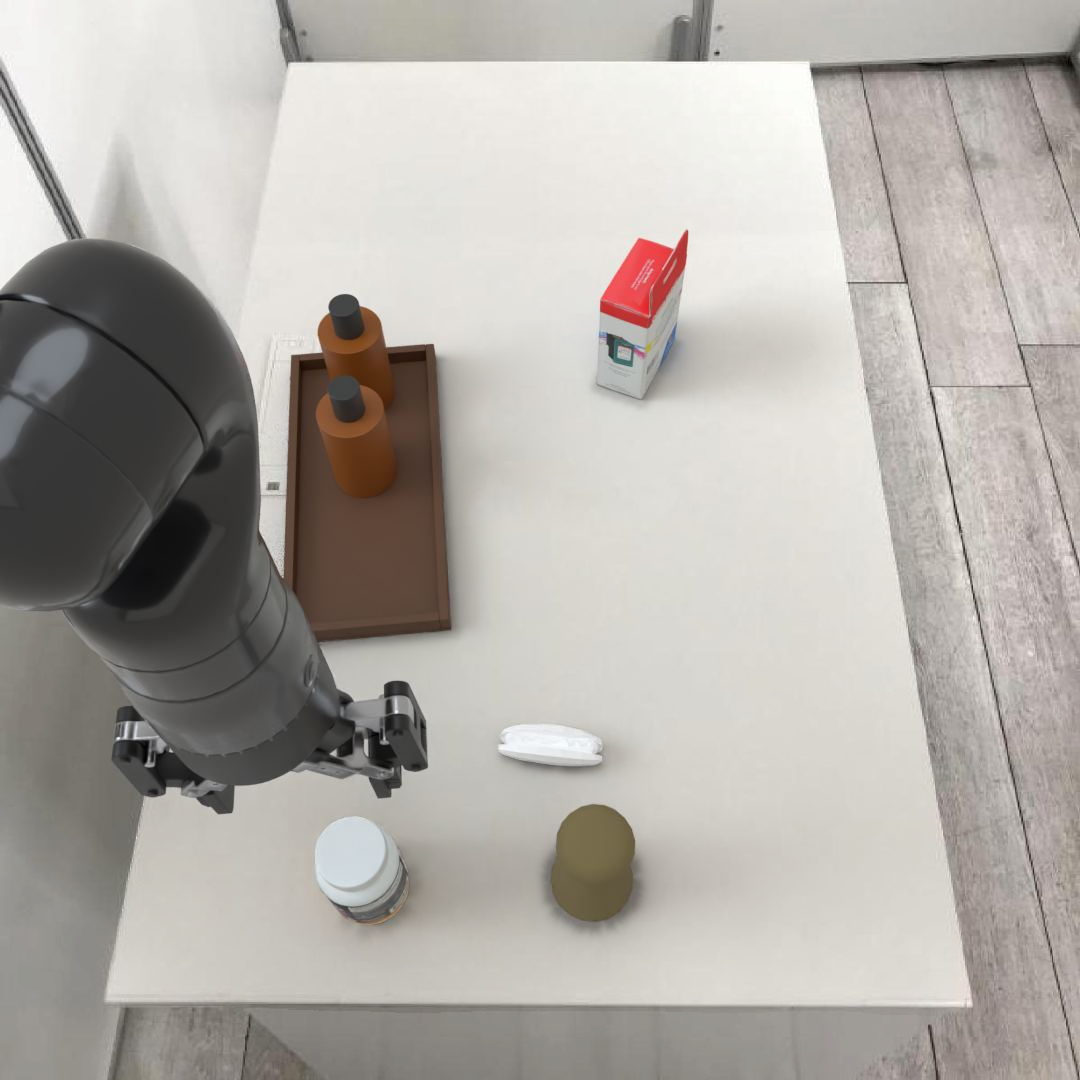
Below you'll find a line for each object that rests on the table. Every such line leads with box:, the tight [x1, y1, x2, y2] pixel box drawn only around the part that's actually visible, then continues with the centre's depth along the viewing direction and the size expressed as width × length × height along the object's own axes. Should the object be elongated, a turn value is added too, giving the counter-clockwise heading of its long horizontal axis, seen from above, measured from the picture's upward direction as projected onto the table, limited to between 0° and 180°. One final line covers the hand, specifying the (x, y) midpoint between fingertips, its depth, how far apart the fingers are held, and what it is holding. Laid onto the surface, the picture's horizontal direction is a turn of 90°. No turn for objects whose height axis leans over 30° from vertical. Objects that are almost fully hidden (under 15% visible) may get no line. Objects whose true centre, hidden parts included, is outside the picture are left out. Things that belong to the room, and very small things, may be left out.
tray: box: [282, 343, 452, 643], centre depth 95 cm, size 14×30×2 cm, turn 5°
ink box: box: [596, 228, 689, 400], centre depth 97 cm, size 8×5×15 cm, turn 154°
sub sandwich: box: [497, 722, 604, 767], centre depth 82 cm, size 3×8×3 cm, turn 83°
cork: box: [549, 803, 636, 923], centre depth 73 cm, size 6×6×11 cm
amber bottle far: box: [317, 293, 395, 410], centre depth 96 cm, size 6×6×12 cm
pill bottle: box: [314, 815, 410, 926], centre depth 73 cm, size 6×6×10 cm
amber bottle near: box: [316, 375, 397, 498], centre depth 91 cm, size 6×6×12 cm
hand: (306, 788), depth 58 cm, fingers open, 8 cm apart
